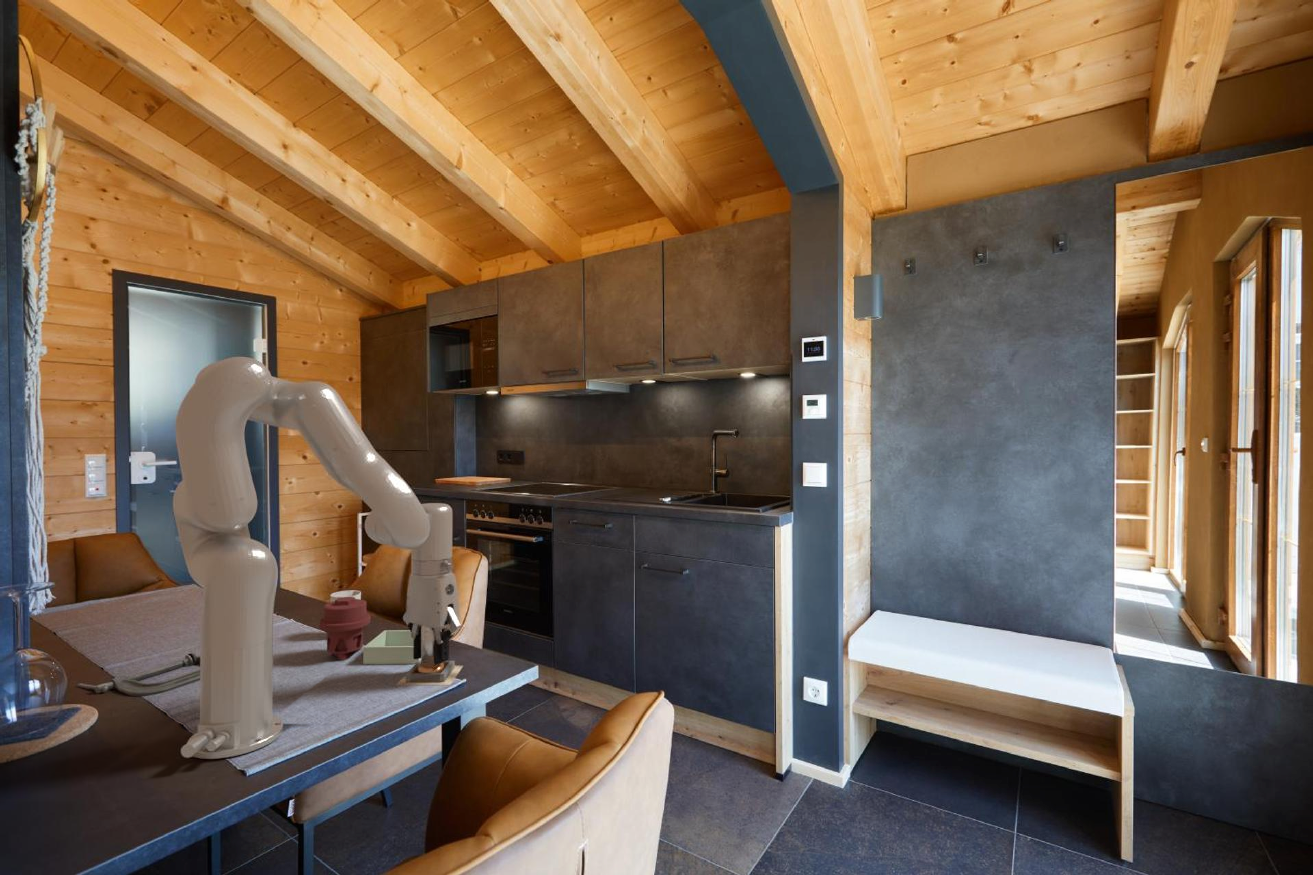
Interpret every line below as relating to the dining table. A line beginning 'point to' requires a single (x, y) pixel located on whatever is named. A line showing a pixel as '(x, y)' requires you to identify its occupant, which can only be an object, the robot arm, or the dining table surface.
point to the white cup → (346, 594)
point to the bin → (390, 648)
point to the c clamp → (137, 688)
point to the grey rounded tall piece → (428, 652)
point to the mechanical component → (344, 626)
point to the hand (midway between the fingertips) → (431, 658)
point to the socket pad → (430, 676)
